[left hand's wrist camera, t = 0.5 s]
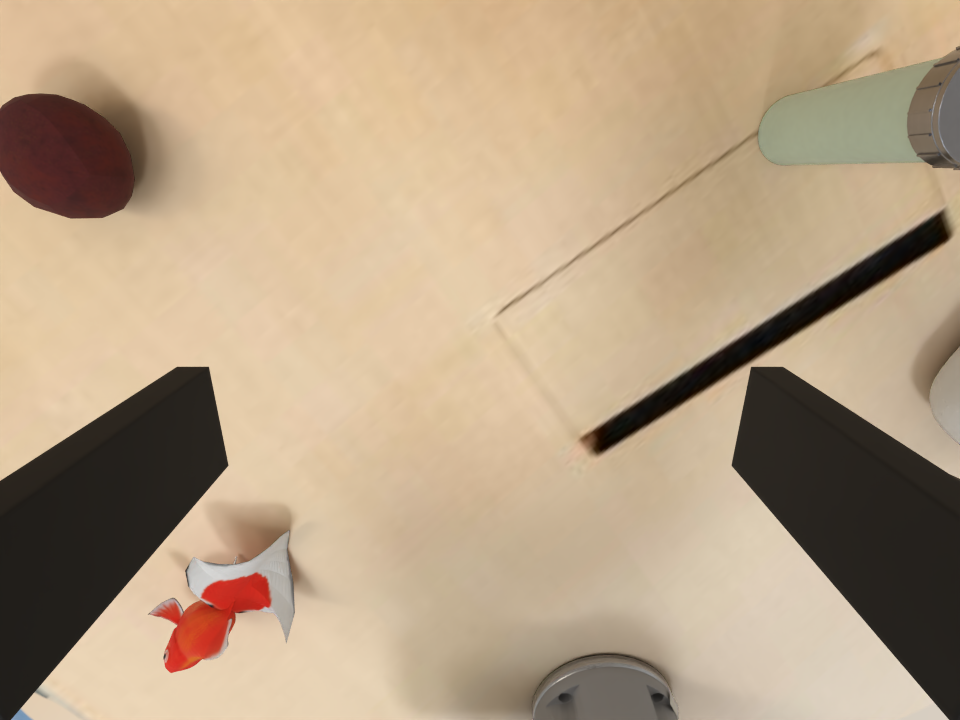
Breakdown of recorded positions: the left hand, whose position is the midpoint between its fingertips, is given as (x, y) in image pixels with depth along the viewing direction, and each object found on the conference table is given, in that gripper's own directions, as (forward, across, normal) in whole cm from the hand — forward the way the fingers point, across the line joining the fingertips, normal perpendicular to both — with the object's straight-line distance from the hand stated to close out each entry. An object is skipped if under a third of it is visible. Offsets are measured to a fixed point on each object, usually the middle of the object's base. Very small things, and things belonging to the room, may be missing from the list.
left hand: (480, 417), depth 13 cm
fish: (+28, +23, +30) cm, 47 cm away
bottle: (+28, -22, -8) cm, 37 cm away
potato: (+28, +27, -6) cm, 39 cm away
